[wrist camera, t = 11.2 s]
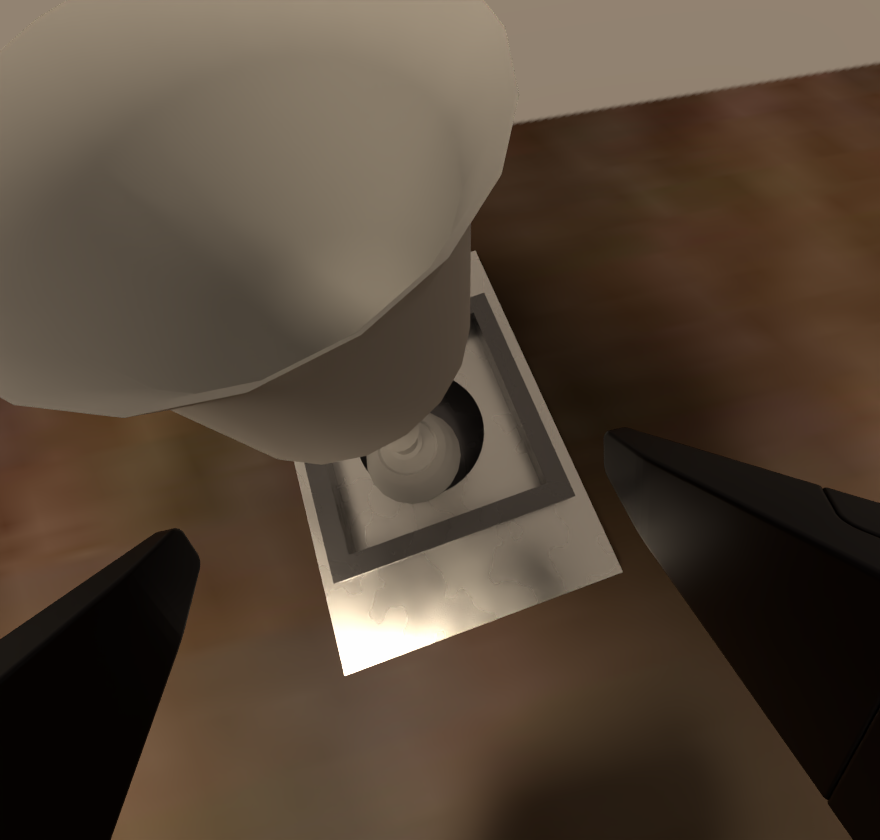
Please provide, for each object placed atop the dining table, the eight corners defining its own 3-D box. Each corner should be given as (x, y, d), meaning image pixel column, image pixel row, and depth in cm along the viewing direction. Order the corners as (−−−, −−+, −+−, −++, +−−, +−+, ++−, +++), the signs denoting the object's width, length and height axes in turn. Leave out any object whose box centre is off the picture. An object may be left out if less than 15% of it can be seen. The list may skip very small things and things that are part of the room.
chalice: (406, 370, 23) (231, -122, 6) (505, 438, 22) (642, 31, 5) (321, 472, 22) (-218, 202, 5) (421, 553, 20) (161, 591, 3)
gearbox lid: (617, 571, 20) (635, 574, 18) (349, 670, 20) (334, 686, 18) (475, 259, 26) (475, 233, 24) (267, 329, 26) (248, 309, 24)
